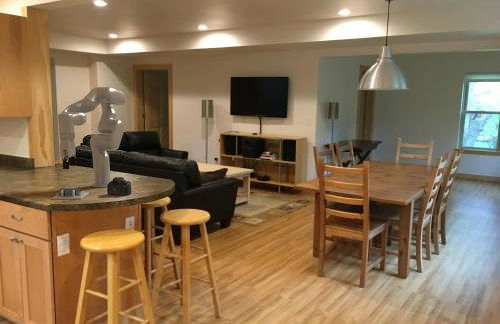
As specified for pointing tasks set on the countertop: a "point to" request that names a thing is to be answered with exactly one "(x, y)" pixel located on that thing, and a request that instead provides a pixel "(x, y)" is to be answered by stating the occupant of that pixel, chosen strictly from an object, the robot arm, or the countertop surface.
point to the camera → (119, 186)
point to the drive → (70, 191)
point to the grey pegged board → (80, 196)
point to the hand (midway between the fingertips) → (69, 167)
